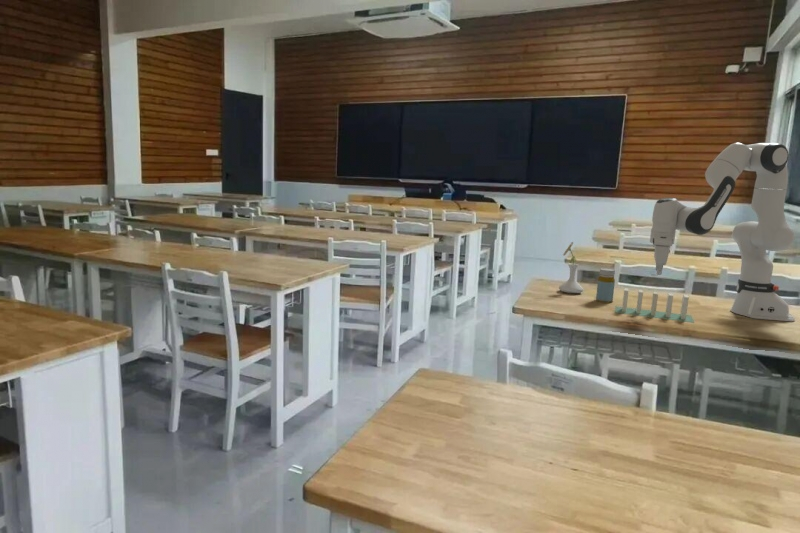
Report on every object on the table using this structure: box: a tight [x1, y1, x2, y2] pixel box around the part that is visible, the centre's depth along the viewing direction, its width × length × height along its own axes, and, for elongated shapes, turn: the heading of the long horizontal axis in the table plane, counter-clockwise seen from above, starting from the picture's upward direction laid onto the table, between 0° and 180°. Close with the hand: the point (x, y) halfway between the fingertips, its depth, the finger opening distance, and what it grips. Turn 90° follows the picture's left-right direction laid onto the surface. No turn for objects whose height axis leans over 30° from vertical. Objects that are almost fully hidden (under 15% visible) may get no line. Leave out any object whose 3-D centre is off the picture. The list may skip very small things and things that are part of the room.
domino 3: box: [665, 292, 674, 317], centre depth 214 cm, size 2×5×9 cm, turn 157°
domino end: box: [621, 287, 630, 312], centre depth 221 cm, size 2×5×9 cm, turn 157°
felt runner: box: [614, 305, 695, 324], centre depth 217 cm, size 29×12×1 cm, turn 66°
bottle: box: [595, 267, 616, 304], centre depth 236 cm, size 7×7×15 cm
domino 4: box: [679, 294, 690, 319], centre depth 212 cm, size 2×5×9 cm, turn 157°
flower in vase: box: [558, 241, 584, 294], centre depth 253 cm, size 13×11×25 cm
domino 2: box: [650, 291, 659, 316], centre depth 217 cm, size 2×5×9 cm, turn 157°
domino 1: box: [635, 289, 644, 314], centre depth 219 cm, size 2×5×9 cm, turn 157°
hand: (658, 272), depth 214 cm, fingers open, 8 cm apart
